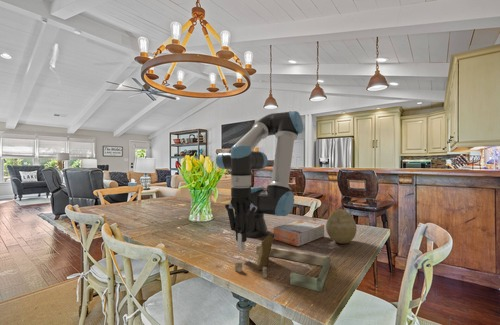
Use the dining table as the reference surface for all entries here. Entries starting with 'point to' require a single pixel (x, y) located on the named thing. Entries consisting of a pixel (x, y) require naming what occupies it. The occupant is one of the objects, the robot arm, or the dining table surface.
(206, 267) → the dining table surface
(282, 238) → the cracker box
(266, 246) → the rock
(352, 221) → the fossilized egg
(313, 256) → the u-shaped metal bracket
